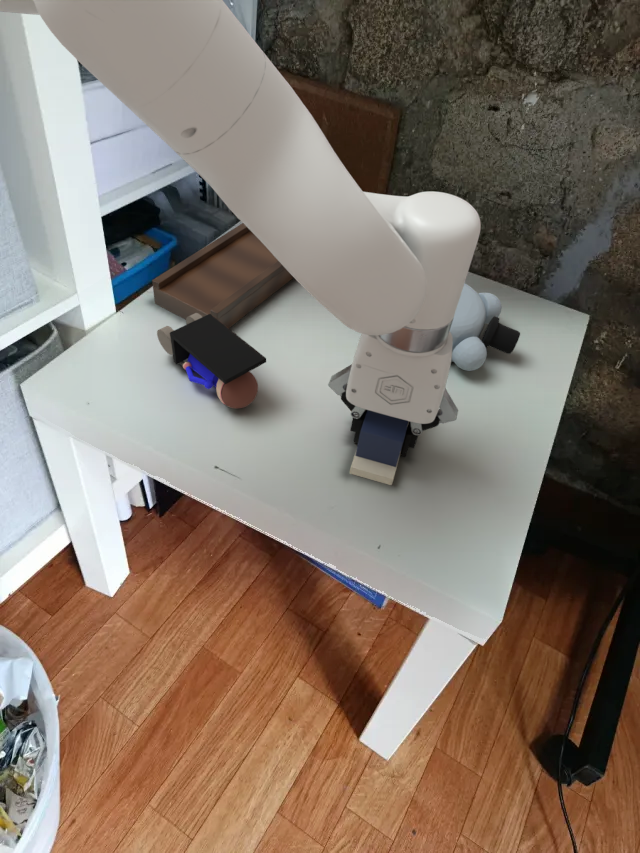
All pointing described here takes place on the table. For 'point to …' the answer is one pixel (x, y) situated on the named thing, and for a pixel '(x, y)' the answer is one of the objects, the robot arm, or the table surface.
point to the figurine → (478, 329)
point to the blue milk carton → (379, 447)
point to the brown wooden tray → (222, 279)
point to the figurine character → (214, 358)
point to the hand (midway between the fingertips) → (382, 440)
